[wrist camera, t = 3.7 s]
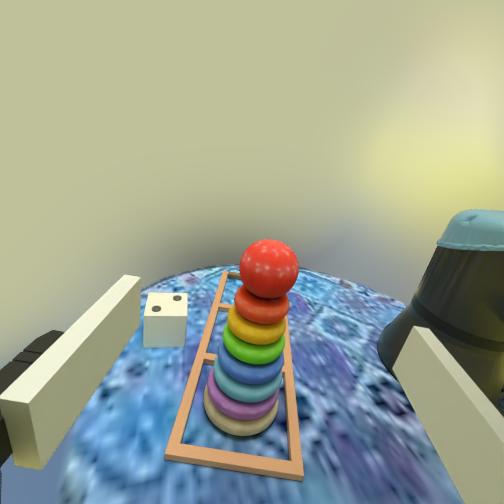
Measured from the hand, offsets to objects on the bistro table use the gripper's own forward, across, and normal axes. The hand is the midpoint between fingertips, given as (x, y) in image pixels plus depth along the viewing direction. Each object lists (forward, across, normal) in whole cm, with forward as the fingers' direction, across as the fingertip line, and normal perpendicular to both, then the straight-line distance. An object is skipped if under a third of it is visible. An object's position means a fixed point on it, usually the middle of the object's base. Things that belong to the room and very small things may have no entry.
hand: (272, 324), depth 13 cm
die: (+19, -11, -18) cm, 28 cm away
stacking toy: (+10, 0, -19) cm, 21 cm away
